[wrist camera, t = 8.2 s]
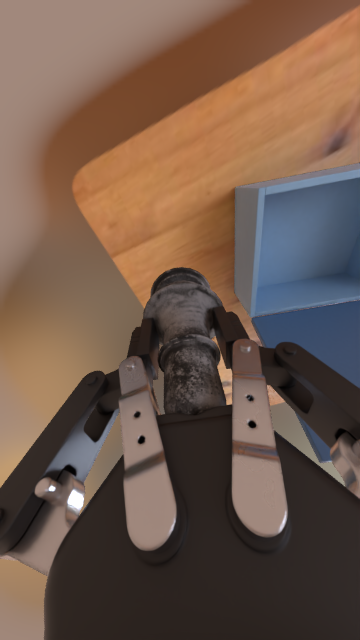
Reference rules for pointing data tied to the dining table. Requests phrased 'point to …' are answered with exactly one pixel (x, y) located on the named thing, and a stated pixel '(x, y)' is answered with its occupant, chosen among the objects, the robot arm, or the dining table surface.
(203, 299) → the chess piece
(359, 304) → the lid
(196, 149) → the dining table surface
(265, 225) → the blue rectangular open box
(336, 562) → the robot arm
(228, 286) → the dining table surface
